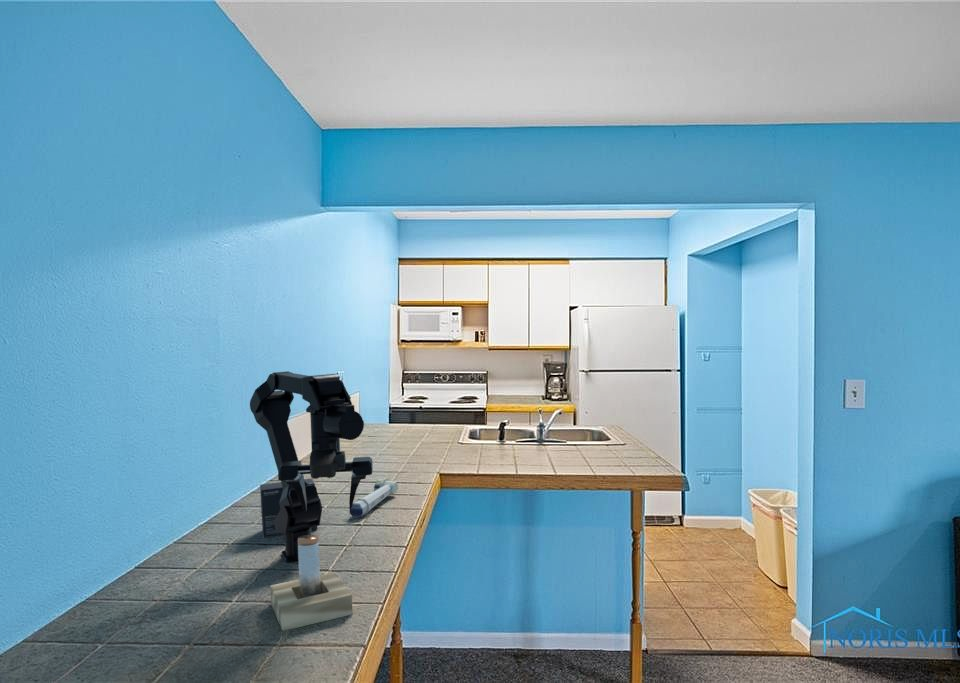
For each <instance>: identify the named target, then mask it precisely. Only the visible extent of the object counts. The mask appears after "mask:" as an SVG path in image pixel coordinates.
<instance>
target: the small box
mask: <svg viewBox="0 0 960 683" xmlns="http://www.w3.org/2000/svg"><path fill="white" fill-rule="evenodd" d="M304 480H305V482H306V483H308V484H309V485H313V484H314V485H315V486H316V483H315V481H314V479H313V478H311V477H310V478H304ZM259 486H260V487H259V488H260V509H261V510H260V511H261V526H262V537H263V538H264V539H266V538H271V537H272V538H273V537H279V535H280V536H285V534H282V533H280V532H278V531H276V529H275V524H274V520H275V518H276V517H277V515H278V513H279V511H280V504H279V502H280V499H281V495H282V492H283V487H282V483H281V481H280V482H279V481H278V482H272V483H271V482H270V483H263V484H260V485H259ZM318 529H319V528H318V526H314V527H311V532H312V531H317V530H318Z"/></svg>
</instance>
